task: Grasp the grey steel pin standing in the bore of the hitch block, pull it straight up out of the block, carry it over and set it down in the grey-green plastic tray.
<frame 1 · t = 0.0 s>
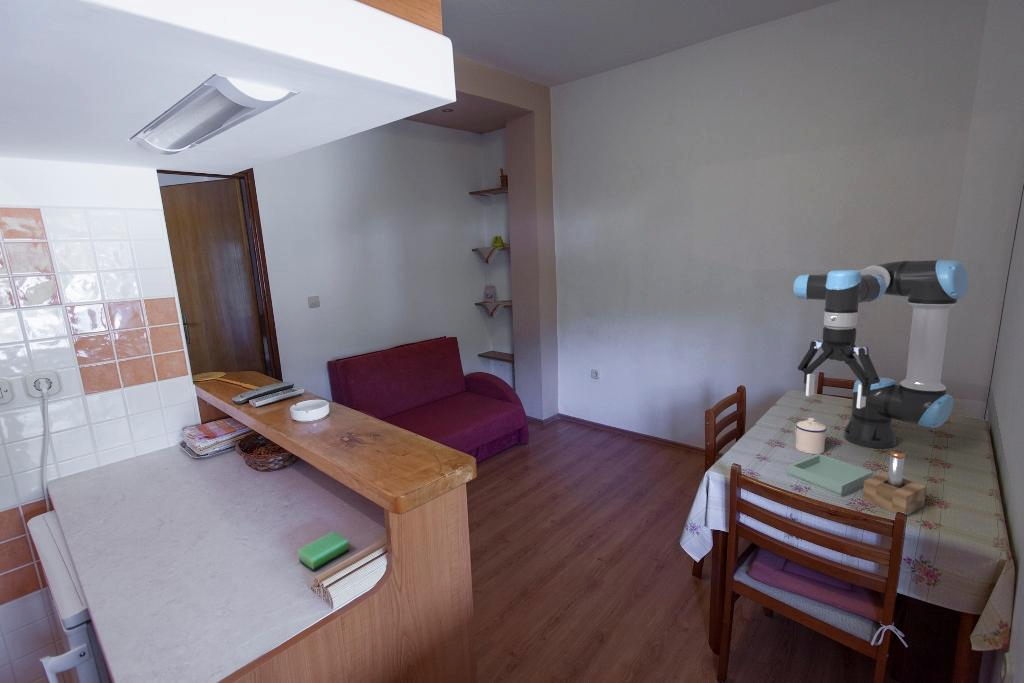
hand: (834, 401, 132), 28 cm above the table, fingers open, 13 cm apart
hitch block: (892, 503, 129), on the table
tray: (828, 479, 144), on the table
pin: (895, 478, 128), in the hitch block
teacup with lid: (806, 448, 166), on the table
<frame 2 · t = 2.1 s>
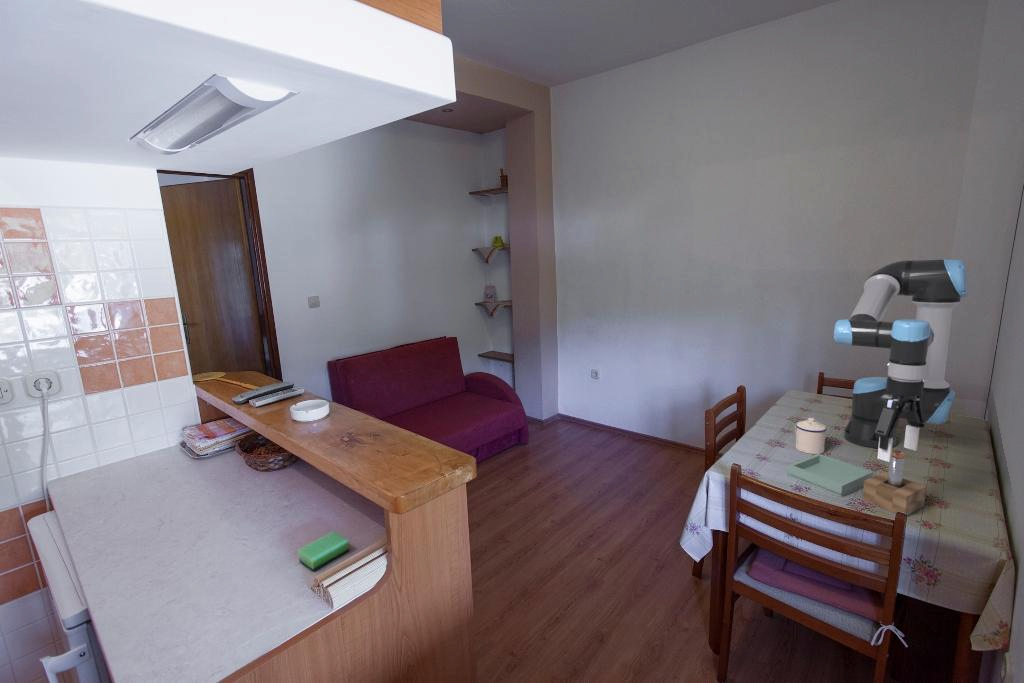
hand: (897, 454, 126), 15 cm above the table, fingers open, 13 cm apart
nothing on the table moved.
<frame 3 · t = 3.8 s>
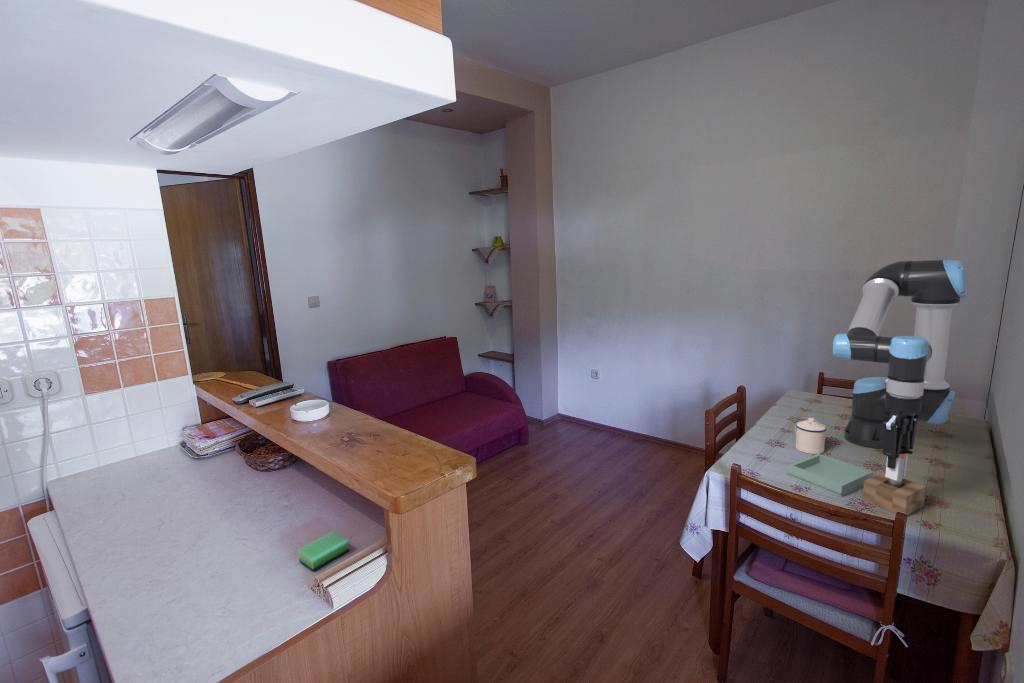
hand: (895, 476, 128), 8 cm above the table, fingers closed on pin, 3 cm apart
pin: (895, 478, 128), in the hitch block, touching gripper
everything else where it was.
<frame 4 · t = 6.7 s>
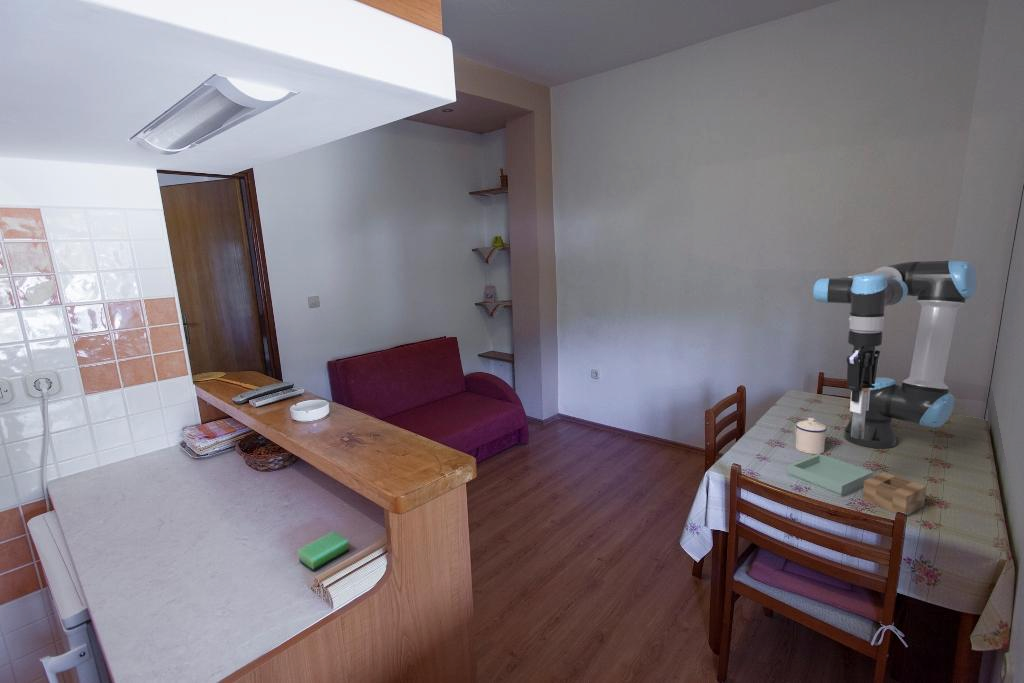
hand: (859, 410, 134), 24 cm above the table, fingers closed on pin, 3 cm apart
pin: (859, 412, 134), point 24 cm above the table, touching gripper
everything else where it was.
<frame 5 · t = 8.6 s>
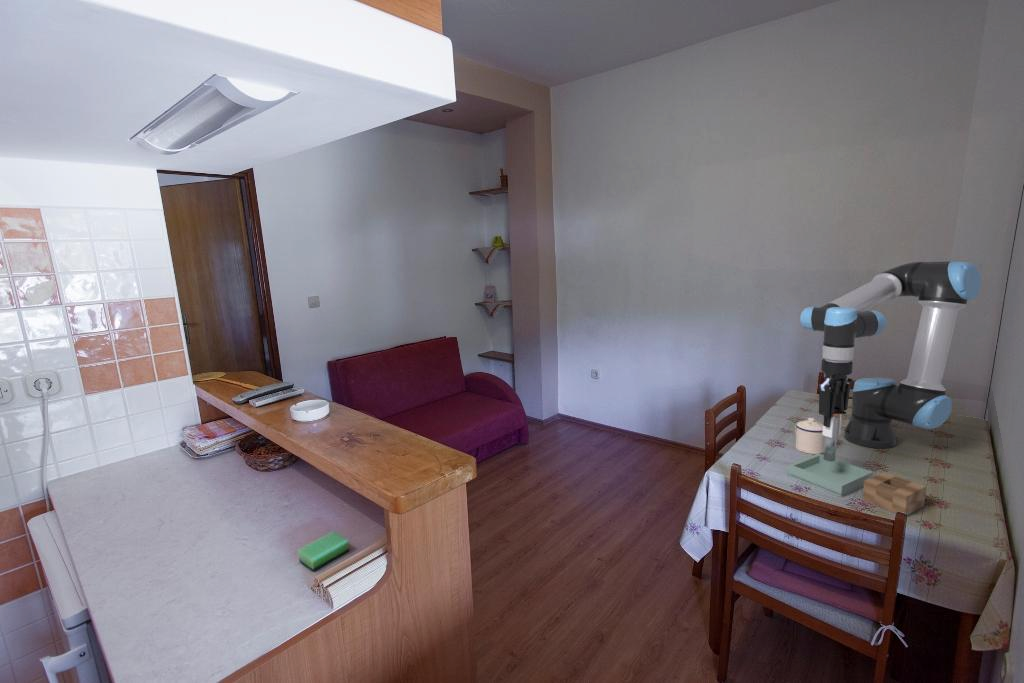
hand: (831, 434, 141), 15 cm above the table, fingers closed on pin, 3 cm apart
pin: (831, 436, 141), point 14 cm above the table, touching gripper
everything else where it was.
when the fingers open (10 cm above the table, at t = 9.9 s): pin stays where it is, resting on tray.
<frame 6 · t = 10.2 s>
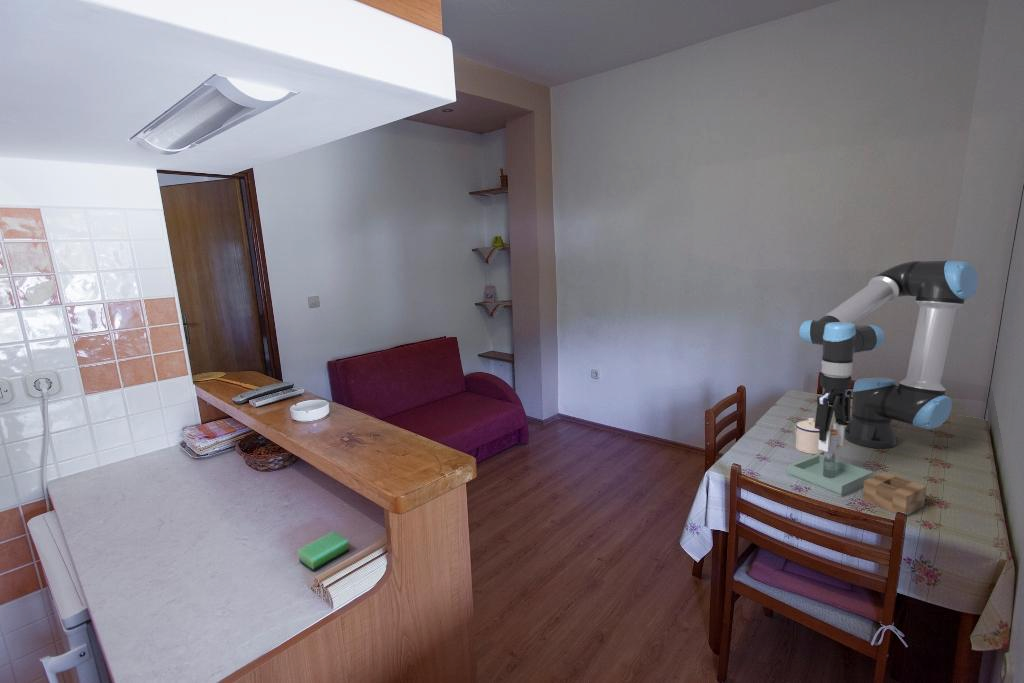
hand: (830, 447, 142), 10 cm above the table, fingers open, 7 cm apart
pin: (830, 453, 142), in the tray, point 8 cm above the table
everything else where it was.
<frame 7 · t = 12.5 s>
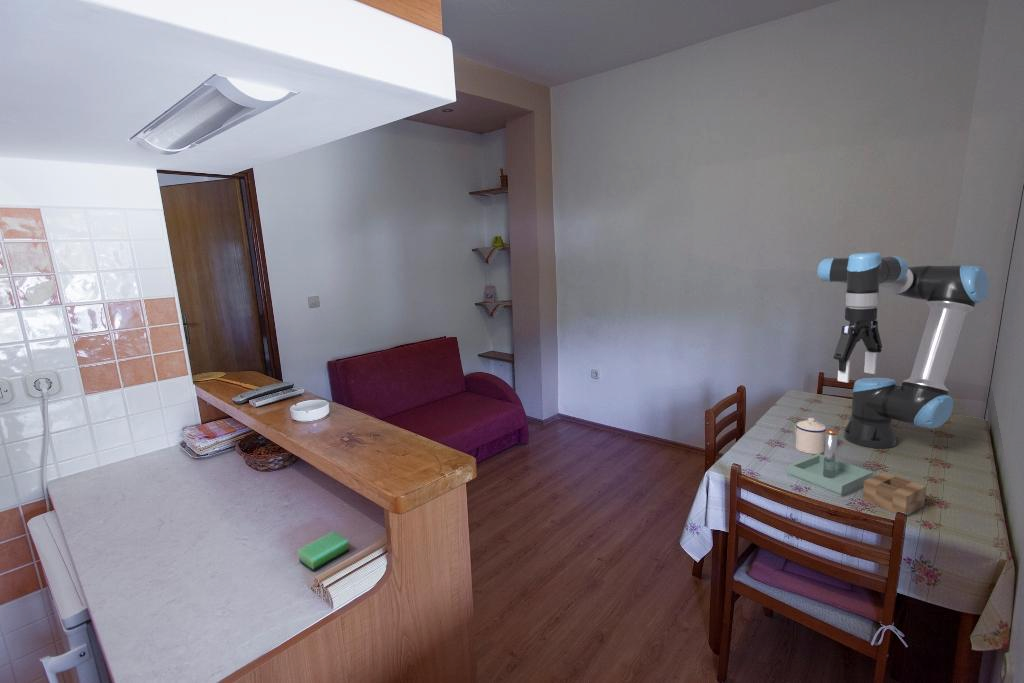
hand: (856, 377, 139), 32 cm above the table, fingers open, 13 cm apart
nothing on the table moved.
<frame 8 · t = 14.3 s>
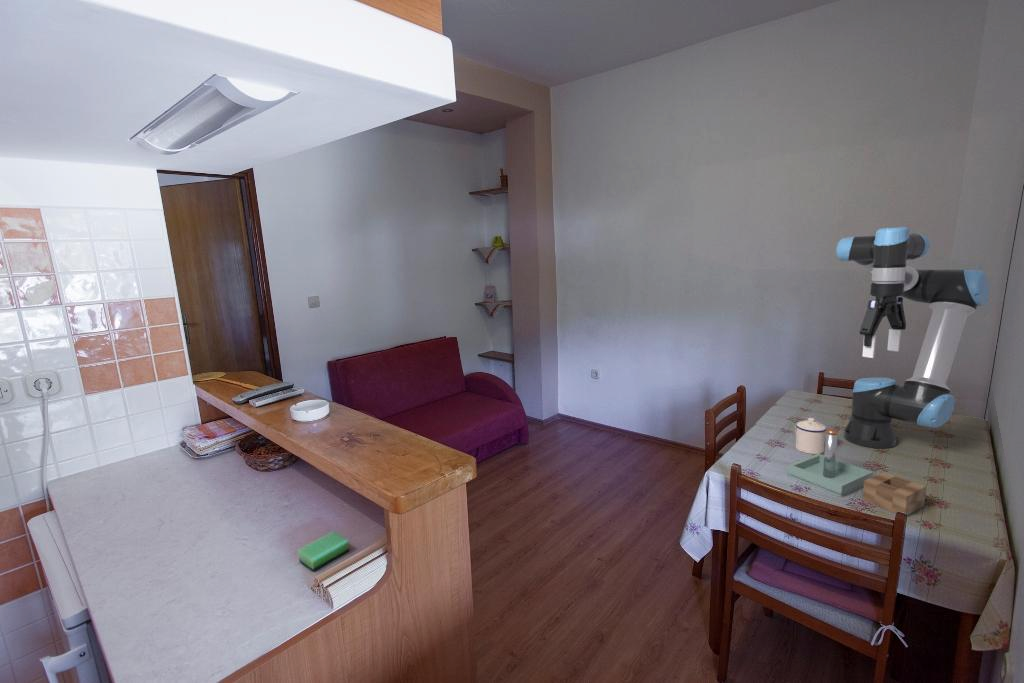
hand: (880, 353, 138), 39 cm above the table, fingers open, 13 cm apart
nothing on the table moved.
at the end: pin inside the target area on the tray (0.0 cm from its centre), point 8.5 cm above the tray's base; the gripper is holding nothing; pin touching tray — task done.
